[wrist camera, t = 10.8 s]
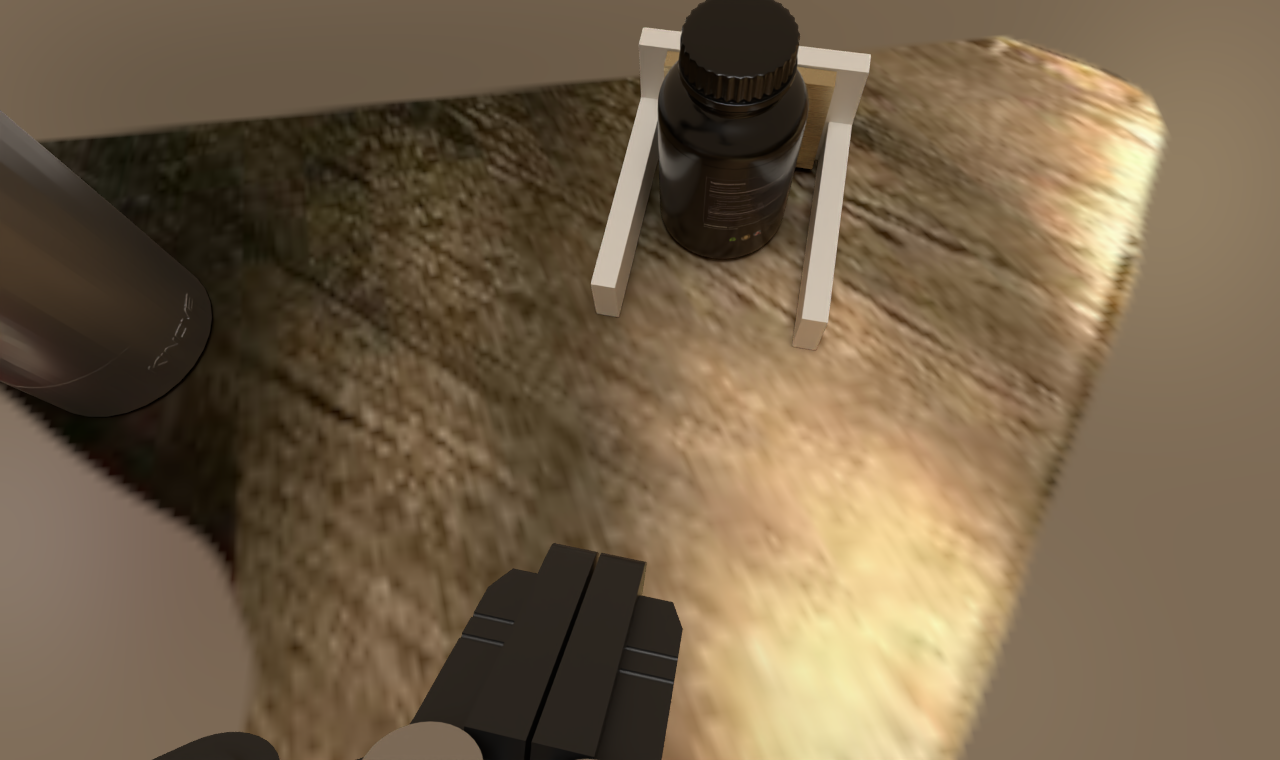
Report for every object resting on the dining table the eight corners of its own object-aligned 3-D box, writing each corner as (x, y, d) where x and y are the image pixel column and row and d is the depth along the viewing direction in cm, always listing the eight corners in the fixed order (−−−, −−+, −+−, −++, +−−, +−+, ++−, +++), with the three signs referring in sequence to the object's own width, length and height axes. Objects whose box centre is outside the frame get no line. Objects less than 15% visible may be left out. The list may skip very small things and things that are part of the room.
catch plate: (664, 148, 41) (663, 65, 35) (668, 135, 41) (667, 50, 36) (812, 169, 40) (834, 86, 34) (814, 155, 40) (836, 71, 35)
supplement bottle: (644, 180, 40) (634, -7, 29) (757, 149, 41) (789, -46, 30) (682, 279, 38) (686, 114, 27) (802, 245, 38) (855, 69, 27)
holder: (596, 313, 37) (582, 243, 31) (647, 120, 42) (643, 27, 36) (815, 350, 36) (844, 284, 30) (841, 146, 41) (870, 54, 35)
